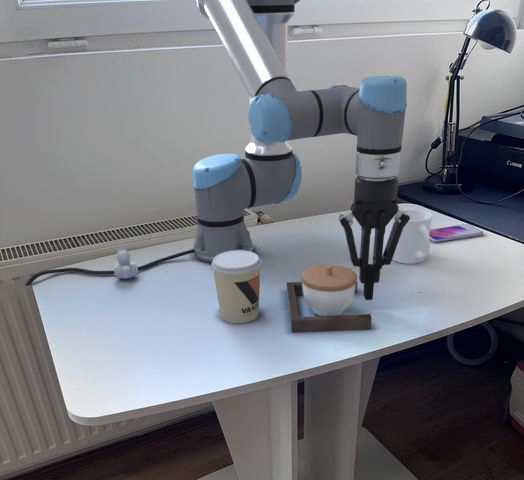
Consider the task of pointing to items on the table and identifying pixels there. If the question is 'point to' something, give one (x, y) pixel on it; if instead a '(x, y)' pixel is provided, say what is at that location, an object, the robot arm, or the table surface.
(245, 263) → the coffee cup
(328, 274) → the trinket box
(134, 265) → the grey lumpy figure
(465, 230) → the smartphone
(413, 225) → the mug
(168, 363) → the table surface
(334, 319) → the bay
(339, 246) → the table surface
